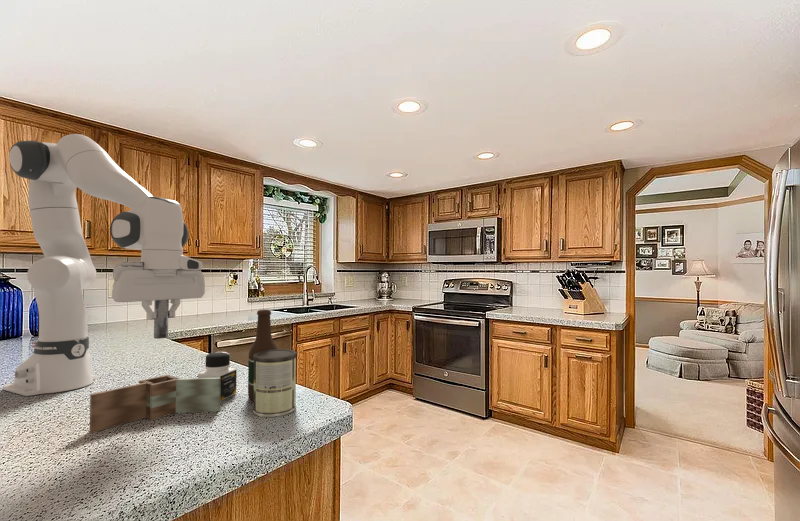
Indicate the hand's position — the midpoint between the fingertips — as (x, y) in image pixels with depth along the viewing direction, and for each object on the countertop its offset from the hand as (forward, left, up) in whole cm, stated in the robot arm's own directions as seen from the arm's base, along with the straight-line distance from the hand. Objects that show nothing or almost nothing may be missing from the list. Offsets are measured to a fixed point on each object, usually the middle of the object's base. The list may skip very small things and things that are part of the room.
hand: (161, 318), depth 96 cm
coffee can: (+26, +9, -23) cm, 36 cm away
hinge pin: (0, 0, -5) cm, 5 cm away
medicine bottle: (+5, +14, -23) cm, 27 cm away
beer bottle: (+18, +16, -23) cm, 33 cm away
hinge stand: (+3, -3, -23) cm, 23 cm away
